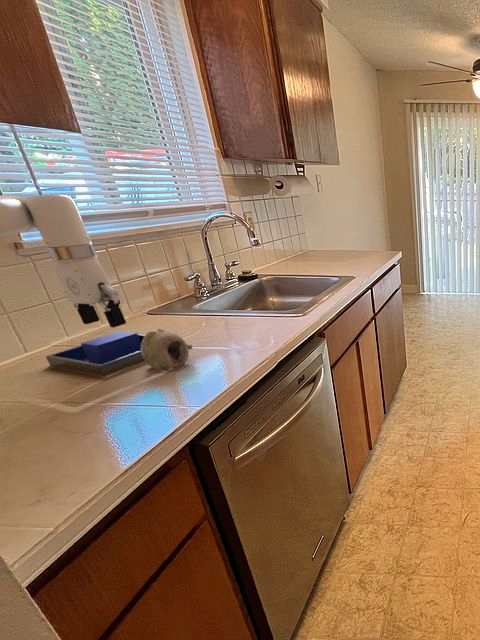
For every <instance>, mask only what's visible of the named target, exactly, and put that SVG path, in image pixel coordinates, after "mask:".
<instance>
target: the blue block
mask: <svg viewBox="0 0 480 640" xmlns="http://www.w3.org/2000/svg"><path fill="white" fill-rule="evenodd" d="M137 334H138V332H131V331H125V330H119V331H116V332H112V333H109V334H106V335H102V336H100V337H99V336H98V337H96V338H93V339H90V340H86V341H83V342H80V346H81V345H82V347H83V349H84V352H85V354H86V356H87V358H88V360H89V362H93V363H99V364H104V363H106V362H109V361H112V360H115V359H118V358H120V357H123V356H126V355H129V354H132V353H134V352H137V351H140V350H141V342H140V340H139V337H138V335H137Z"/></svg>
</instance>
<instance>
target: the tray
mask: <svg viewBox="0 0 480 640" xmlns="http://www.w3.org/2000/svg"><path fill="white" fill-rule="evenodd" d="M137 335H138V337H139V340H140V342H142V340H143V338H144V336H145V335H146V334H144V333H137ZM45 358H46V360H47V363H48V364H49V366H50V367H53V368H59V369H64V370H70V371H76V372H81V373H87V374H91V375H97V376H102V377H106V376H108V375H112V374H113V373H117V372H120V371H121V370H124V369H127V368H129V367H132V366H134V365H138V364H140V363H143V362H145V360H144V359H143V357H142V354H141V350H140V351H137V352H134V353H132V354H129V355H126V356H123V357H120V358H118V359H115V360H112V361H109V362H106V363H104V364H99V363H93V362H89V360H88V358H87V356H86V354H85V352H84V349H83V347H82V345H81V344H80V345H77V346H75V347H71V348H68V349H65V350H62V351H58V352H55V353H52V354H48V355H46V356H45Z"/></svg>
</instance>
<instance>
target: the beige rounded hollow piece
mask: <svg viewBox="0 0 480 640" xmlns="http://www.w3.org/2000/svg"><path fill="white" fill-rule="evenodd" d="M144 335H145V336H144V338H143V340H142V342H141V354H142V357H143V359H144V360H145V361H144V362H145V363H146V365H148V366H149V367H151V368H152V369H154V370H156V371H159V370H164V371H174V370H178V369H179V368H181V367H183V366H185V364H186V362H187V360H188V358H189V356H190V355H189V352H190V350H192V348H193V347H194V346H193V345H192V344H187V342H186V341H185V340H184V338H183V337H182V336H180V335H179V334H177V333H174V332H171V331H168V330H164V329H161V328H158V329H157V330H156V331H152V330H151V331H148V332H147V333H145V334H144Z"/></svg>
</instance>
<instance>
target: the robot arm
mask: <svg viewBox="0 0 480 640" xmlns="http://www.w3.org/2000/svg"><path fill="white" fill-rule="evenodd" d="M37 230H38V232H39V235H40V236H41V238H42V240H43V242H44V244H45V246H46V248H47V251H48V253H49V255H50V257H51V259H52V261H53V263H54V267H55V271H56V275H57V277H58V279H59V282H60V284H61V287H62V290H63V292H64V294H65V296H66V298H67V300H68V301H69V302H71V303H73V306H74V308H75V309H76V311H77V312H78V315H79V317H80V319H81V321H82V323H83V325H89V324H93V323H97V322H99V321H100V317H99V315H98V313H97V310H96V308H95V306H94V305H96V304H97V303H98V305H99V306H101V308H102V309H103V310H104V311H103V313H104V315H105V318H106V321H107V323H108V325H109V327H110V328H116V327H119V326H123V325H126V324H127V321H126V319H125V316H124V314H123V312H122V306H121V300H120V294H119V292H118V291H117V290H115V289H113V285H112V284H111V282H110V280H109V278H108V276H107V273H106V272H105V270H104V268H103V266H102V265H101V263H100V262H99V259H98V258H99V256H98V254H97V252H96V249H95V247H94V245H93V243H92V240H91V238H90V235H89V233H88V231H87V228H86V226H85V224H84V221H83V219H82V216H81V214H80V211H79V209H78V206H77V205H76V203H75V201H74V199H73V198H72V197H70V196H69V195H66V194H41V195H30V196H28V195H27V196H25V195H16V194H15V195H11V194H7V195H6V194H5V195H0V236H1V237H2V236H8V235H15V234H21V233H27V232H33V231H37Z"/></svg>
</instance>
